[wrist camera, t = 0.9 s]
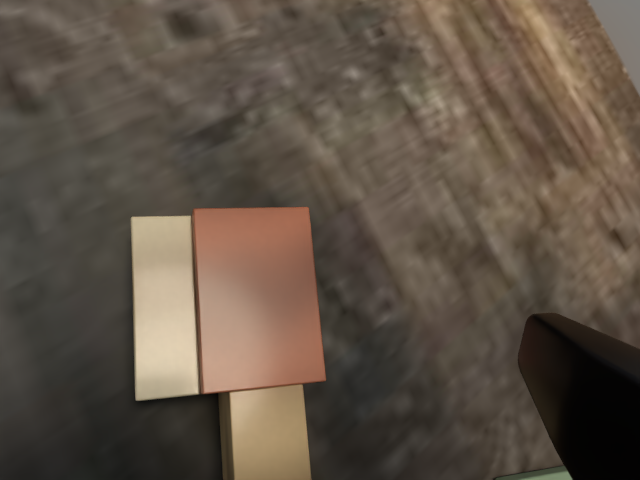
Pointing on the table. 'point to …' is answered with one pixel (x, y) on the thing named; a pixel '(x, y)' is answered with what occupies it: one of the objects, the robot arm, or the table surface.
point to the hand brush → (232, 327)
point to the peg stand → (541, 475)
